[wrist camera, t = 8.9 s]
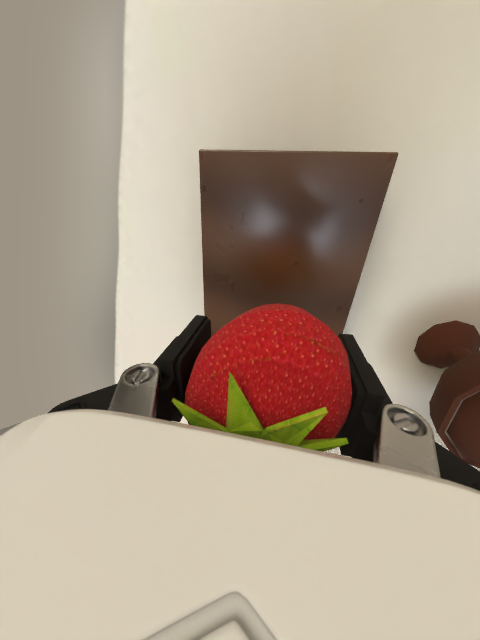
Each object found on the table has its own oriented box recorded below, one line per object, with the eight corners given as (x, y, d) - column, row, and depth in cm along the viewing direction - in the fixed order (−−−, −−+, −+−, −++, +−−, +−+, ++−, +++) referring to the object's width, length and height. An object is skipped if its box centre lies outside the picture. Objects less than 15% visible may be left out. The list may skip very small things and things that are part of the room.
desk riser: (214, 160, 19) (198, 149, 15) (375, 164, 17) (399, 152, 13) (216, 350, 28) (206, 370, 24) (319, 365, 26) (325, 389, 23)
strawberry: (207, 351, 15) (99, 548, 6) (252, 250, 11) (145, 380, 3) (282, 386, 15) (280, 626, 6) (351, 298, 12) (557, 569, 3)
